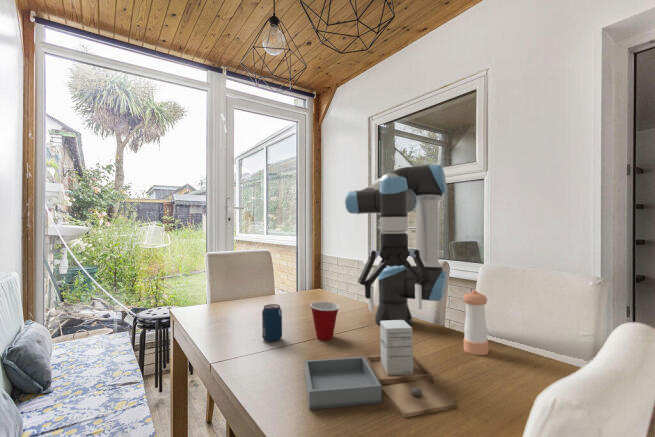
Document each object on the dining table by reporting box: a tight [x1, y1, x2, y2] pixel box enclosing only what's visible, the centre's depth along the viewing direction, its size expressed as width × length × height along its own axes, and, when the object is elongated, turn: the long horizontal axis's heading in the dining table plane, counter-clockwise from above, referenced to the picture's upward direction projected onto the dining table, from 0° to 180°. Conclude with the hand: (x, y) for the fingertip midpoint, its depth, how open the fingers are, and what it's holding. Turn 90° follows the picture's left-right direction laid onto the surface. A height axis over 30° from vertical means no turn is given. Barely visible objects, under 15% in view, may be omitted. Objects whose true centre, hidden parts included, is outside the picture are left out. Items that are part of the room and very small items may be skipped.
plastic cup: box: [310, 301, 341, 341], centre depth 118 cm, size 11×11×12 cm
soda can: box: [261, 303, 283, 344], centre depth 117 cm, size 7×7×12 cm
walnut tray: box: [363, 354, 434, 386], centre depth 91 cm, size 15×15×2 cm
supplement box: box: [379, 320, 414, 375], centre depth 91 cm, size 7×7×13 cm
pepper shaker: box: [462, 289, 490, 356], centre depth 105 cm, size 7×7×19 cm
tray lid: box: [382, 380, 458, 419], centre depth 77 cm, size 13×12×2 cm
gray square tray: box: [304, 356, 383, 411], centre depth 82 cm, size 17×17×4 cm
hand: (395, 309), depth 91 cm, fingers open, 13 cm apart
